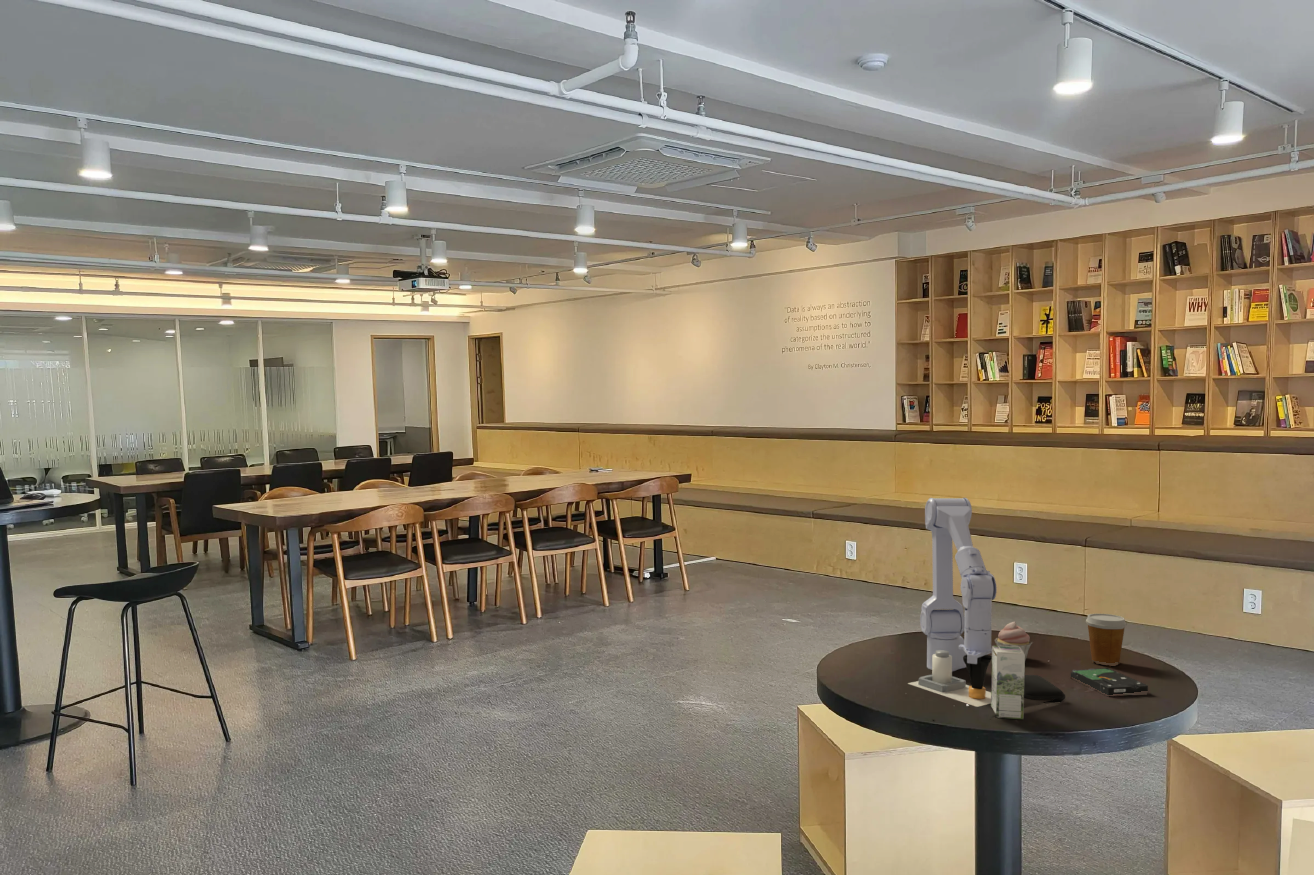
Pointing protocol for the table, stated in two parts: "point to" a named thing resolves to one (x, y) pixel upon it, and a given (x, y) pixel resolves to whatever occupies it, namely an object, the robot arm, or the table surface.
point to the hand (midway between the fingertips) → (977, 688)
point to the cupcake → (1014, 637)
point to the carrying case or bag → (1041, 689)
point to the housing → (952, 690)
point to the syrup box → (1008, 682)
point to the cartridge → (942, 667)
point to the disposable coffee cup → (1106, 636)
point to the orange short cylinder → (977, 693)
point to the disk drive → (1109, 681)
